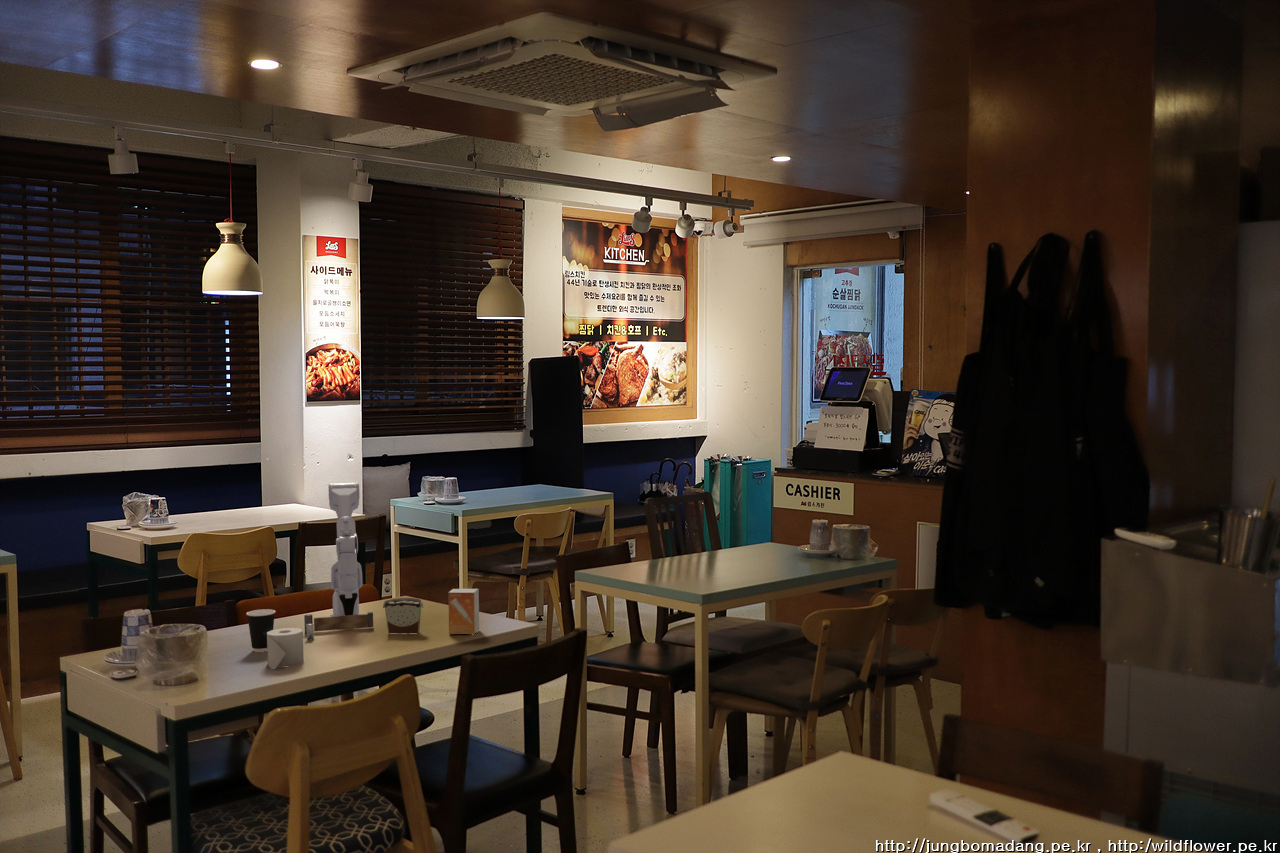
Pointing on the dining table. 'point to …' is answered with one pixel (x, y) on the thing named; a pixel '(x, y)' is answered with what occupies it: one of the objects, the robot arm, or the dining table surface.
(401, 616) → the food container
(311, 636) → the post
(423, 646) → the dining table surface
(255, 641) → the dixie cup
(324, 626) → the brown long bar
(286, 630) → the toilet tissue
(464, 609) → the small box
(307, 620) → the hinge post
